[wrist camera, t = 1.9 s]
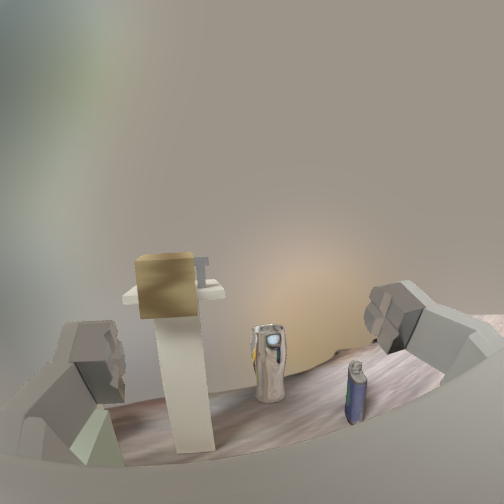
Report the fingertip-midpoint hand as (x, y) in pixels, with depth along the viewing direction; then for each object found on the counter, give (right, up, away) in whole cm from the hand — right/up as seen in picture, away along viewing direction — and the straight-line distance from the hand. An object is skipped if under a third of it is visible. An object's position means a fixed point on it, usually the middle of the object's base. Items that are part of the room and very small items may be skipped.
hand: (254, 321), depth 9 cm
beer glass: (+4, -28, +48) cm, 56 cm away
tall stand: (-9, -29, +31) cm, 43 cm away
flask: (+18, -27, +38) cm, 50 cm away
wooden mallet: (-9, -3, +22) cm, 24 cm away
